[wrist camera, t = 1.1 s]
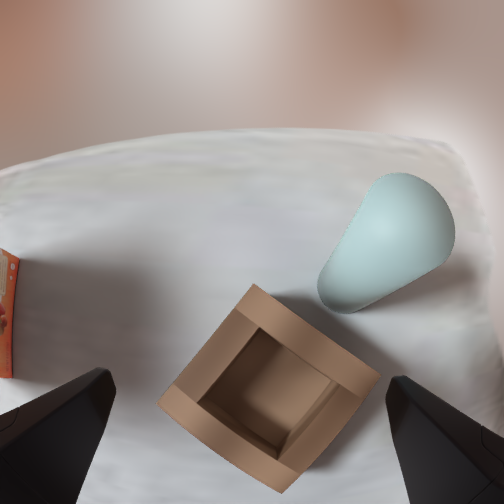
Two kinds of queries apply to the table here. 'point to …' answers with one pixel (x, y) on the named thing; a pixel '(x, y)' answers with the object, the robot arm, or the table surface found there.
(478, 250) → the table surface
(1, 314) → the cracker box
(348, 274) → the column
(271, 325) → the socket base
